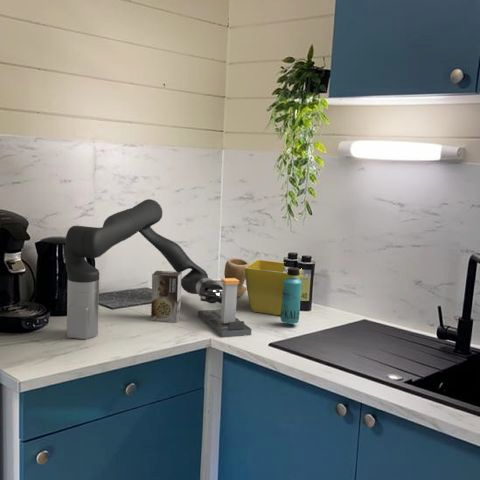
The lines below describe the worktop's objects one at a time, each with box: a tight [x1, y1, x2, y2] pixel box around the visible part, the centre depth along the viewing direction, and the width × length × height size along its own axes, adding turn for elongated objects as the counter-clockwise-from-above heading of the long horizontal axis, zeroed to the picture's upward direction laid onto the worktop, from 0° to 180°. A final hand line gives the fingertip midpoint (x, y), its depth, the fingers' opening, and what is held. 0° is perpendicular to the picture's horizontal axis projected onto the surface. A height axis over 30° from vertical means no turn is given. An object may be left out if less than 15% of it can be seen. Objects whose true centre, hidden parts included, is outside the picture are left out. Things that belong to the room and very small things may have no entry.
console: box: [196, 309, 252, 338], centre depth 202 cm, size 24×10×4 cm, turn 23°
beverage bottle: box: [280, 268, 303, 325], centre depth 205 cm, size 6×7×20 cm
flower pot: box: [245, 259, 302, 316], centre depth 224 cm, size 19×19×17 cm
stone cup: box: [223, 257, 250, 298], centre depth 244 cm, size 15×12×15 cm
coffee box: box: [150, 270, 183, 323], centre depth 204 cm, size 9×6×16 cm
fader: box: [220, 277, 239, 323], centre depth 197 cm, size 4×5×14 cm
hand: (227, 302), depth 199 cm, fingers closed
